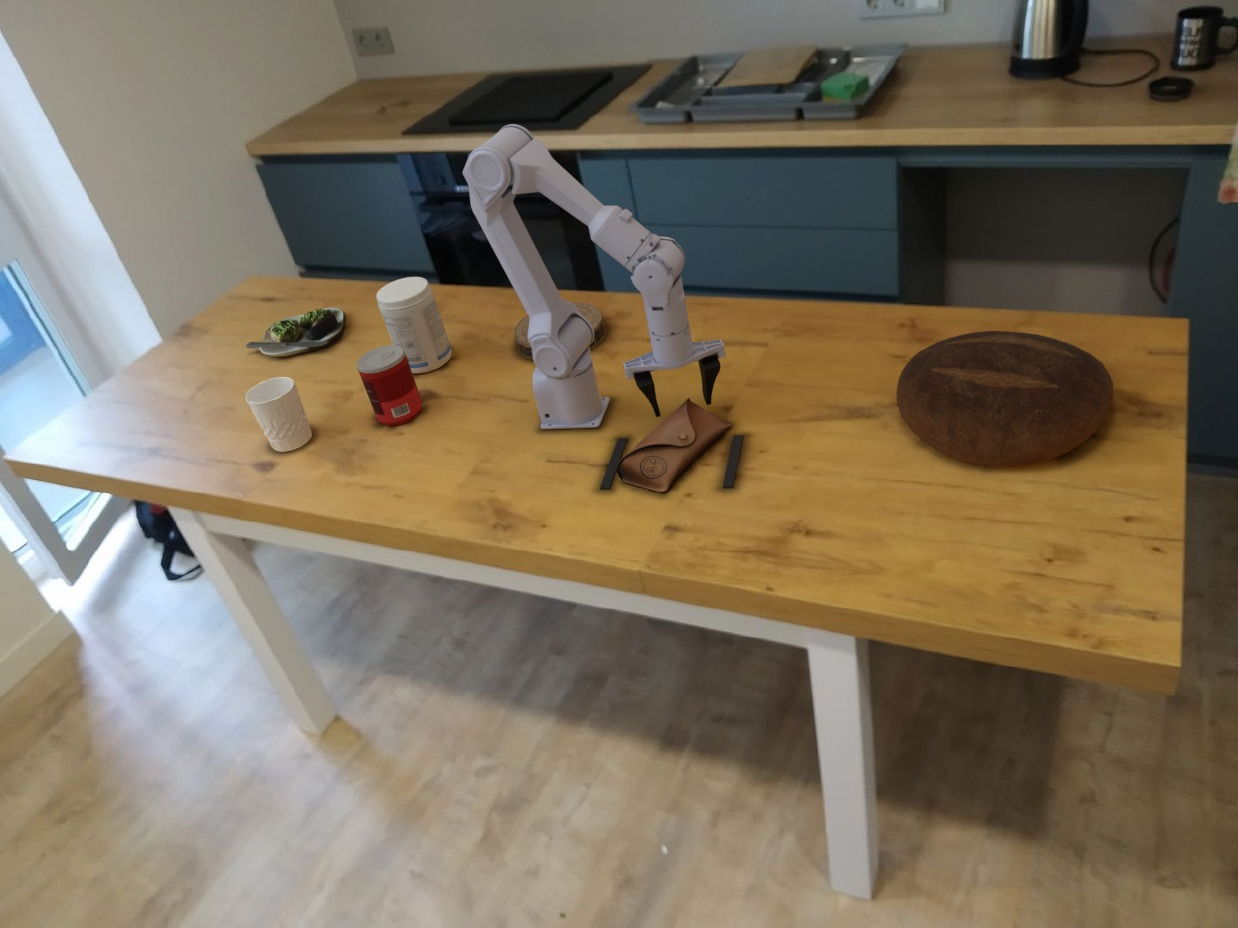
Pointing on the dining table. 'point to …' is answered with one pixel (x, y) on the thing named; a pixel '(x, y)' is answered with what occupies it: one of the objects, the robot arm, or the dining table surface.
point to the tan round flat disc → (585, 309)
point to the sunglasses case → (671, 448)
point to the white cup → (280, 413)
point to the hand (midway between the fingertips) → (682, 407)
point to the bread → (1004, 397)
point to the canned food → (390, 385)
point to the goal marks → (729, 473)
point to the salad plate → (302, 333)
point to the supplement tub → (415, 323)
